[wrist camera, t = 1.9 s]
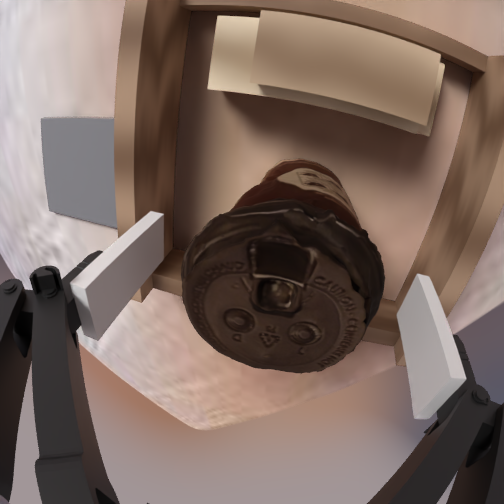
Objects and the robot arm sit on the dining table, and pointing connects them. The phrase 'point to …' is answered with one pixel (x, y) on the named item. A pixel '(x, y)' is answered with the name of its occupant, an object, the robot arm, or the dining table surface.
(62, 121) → the coaster
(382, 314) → the brown wooden tray
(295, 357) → the coffee cup
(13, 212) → the dining table surface
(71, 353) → the robot arm
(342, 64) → the offcut stack
